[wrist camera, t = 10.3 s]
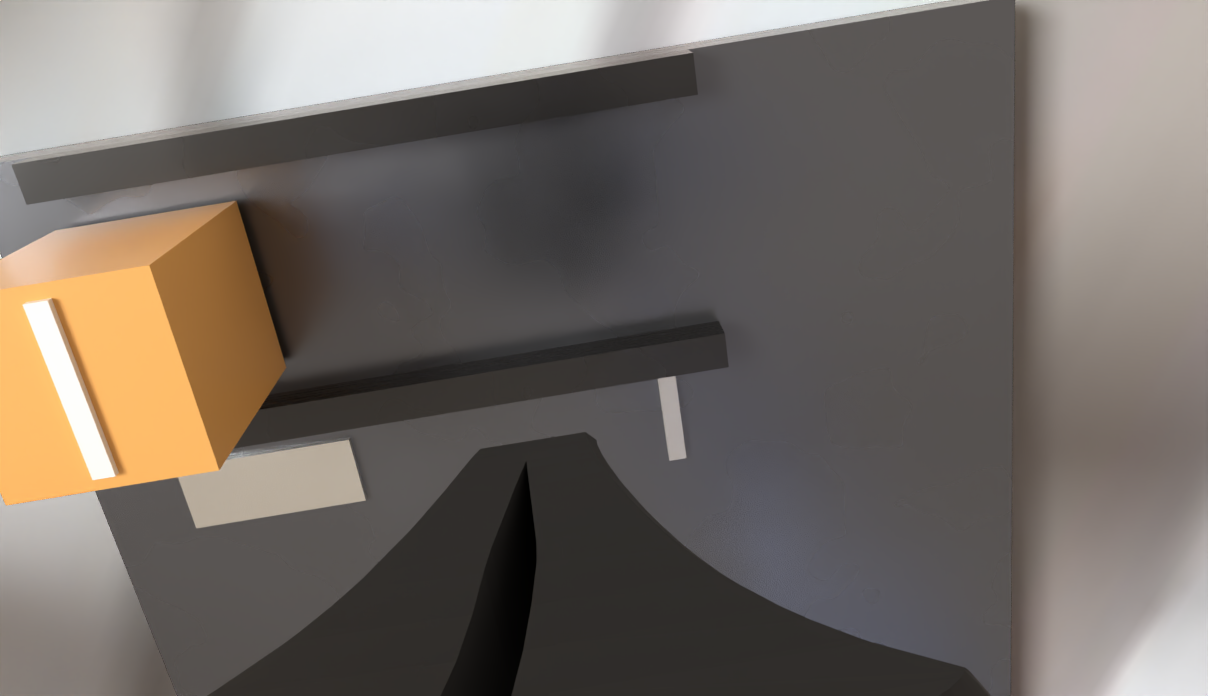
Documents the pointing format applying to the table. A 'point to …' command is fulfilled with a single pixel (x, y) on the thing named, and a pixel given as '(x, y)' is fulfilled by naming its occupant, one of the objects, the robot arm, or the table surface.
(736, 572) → the console
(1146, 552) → the table surface
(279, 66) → the table surface
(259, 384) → the fader
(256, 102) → the table surface
